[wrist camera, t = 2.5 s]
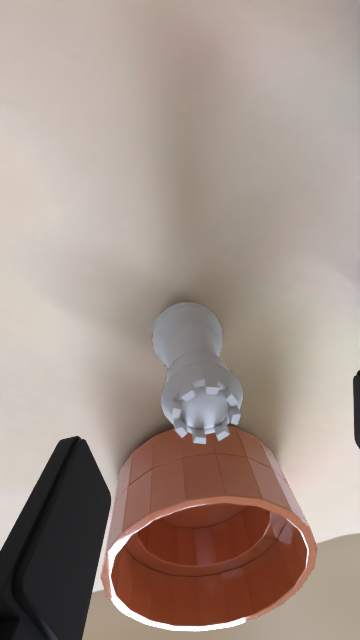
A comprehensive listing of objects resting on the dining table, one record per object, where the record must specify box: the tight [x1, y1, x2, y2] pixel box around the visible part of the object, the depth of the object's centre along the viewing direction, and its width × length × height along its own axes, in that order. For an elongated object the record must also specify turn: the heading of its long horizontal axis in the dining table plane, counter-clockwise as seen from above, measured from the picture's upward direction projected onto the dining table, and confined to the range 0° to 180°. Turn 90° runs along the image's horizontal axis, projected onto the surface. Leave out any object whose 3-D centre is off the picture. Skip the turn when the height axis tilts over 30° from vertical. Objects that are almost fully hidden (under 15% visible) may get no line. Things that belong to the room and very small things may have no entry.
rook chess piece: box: [152, 301, 243, 444], centre depth 13 cm, size 4×4×8 cm
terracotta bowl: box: [101, 426, 317, 631], centre depth 18 cm, size 13×13×6 cm
